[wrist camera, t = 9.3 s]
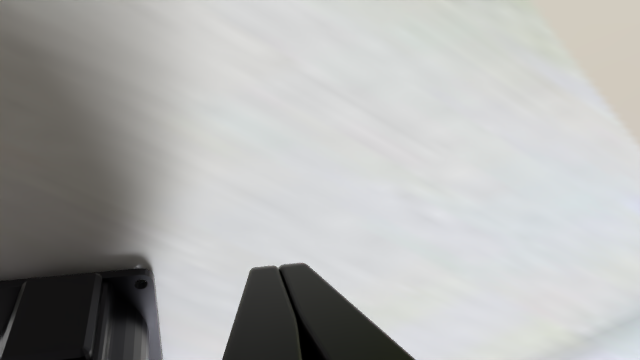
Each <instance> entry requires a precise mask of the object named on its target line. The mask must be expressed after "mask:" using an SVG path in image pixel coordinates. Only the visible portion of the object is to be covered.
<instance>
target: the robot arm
mask: <svg viewBox="0 0 640 360" xmlns="http://www.w3.org/2000/svg"><path fill="white" fill-rule="evenodd" d="M140 279H141V280H145V281H146V282H143V283H139V282H137V280H140ZM0 360H163V358H162V348H161V339H160V329H159V319H158V310H157V300H156V290H155V280H154V275H153V273H152V272H151V271H150V270H147V269H142V268H139V269H128V270H118V271H107V272H96V273H85V274H75V275H64V276H53V277H42V278H32V279H21V280H10V281H0ZM222 360H415V359H414V358H413V357H412V356H411V355H410V354H408V353H407V352H406V351H405V350H404V349H403V348H402V347H400V346H399V345H398V344H397V343H396V342H395V341H394V340H392V339H391V338H390V337H389V336H388V335H387V334H386V333H385V332H383V331H382V330H381V329H380V328H379V327H378V326H377V325H375V324H374V323H373V322H372V321H371V320H370V319H369V318H367V317H366V316H365V315H364V314H363V313H362V312H361V311H359V310H358V309H357V308H356V307H355V306H354V305H353V304H351V303H350V302H349V301H348V300H347V299H346V298H345V297H343V296H342V295H341V294H340V293H339V292H338V291H337V290H335V289H334V288H333V287H332V286H331V285H330V284H329V283H327V282H326V281H325V280H324V279H323V278H322V277H321V276H319V275H318V274H317V273H316V272H315V271H314V270H313V269H311V268H310V267H309V266H308V265H307V264H304V263H294V264H284V265H281V266H280V267H279V268H277V267H276V266H264V267H254V268H252V269H251V270H250V272H249V275H248V279H247V282H246V285H245V288H244V291H243V295H242V298H241V301H240V304H239V307H238V311H237V314H236V317H235V320H234V323H233V327H232V330H231V333H230V336H229V340H228V343H227V346H226V349H225V352H224V356H223V359H222Z"/></svg>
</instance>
